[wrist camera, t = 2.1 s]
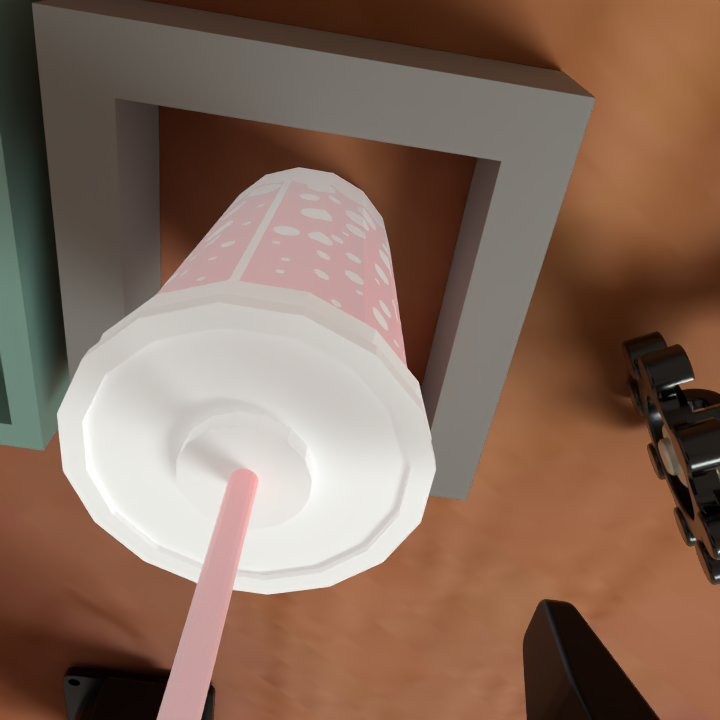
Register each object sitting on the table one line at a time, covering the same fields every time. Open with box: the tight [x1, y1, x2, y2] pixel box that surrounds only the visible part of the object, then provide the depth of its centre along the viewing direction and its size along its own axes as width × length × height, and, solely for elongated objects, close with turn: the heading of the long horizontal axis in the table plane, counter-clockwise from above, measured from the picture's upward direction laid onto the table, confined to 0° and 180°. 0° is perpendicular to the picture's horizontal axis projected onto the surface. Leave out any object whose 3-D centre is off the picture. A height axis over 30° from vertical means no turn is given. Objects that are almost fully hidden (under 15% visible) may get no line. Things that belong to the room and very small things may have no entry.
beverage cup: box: [57, 167, 436, 720], centre depth 13 cm, size 6×6×14 cm
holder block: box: [32, 0, 596, 500], centre depth 17 cm, size 11×11×3 cm
